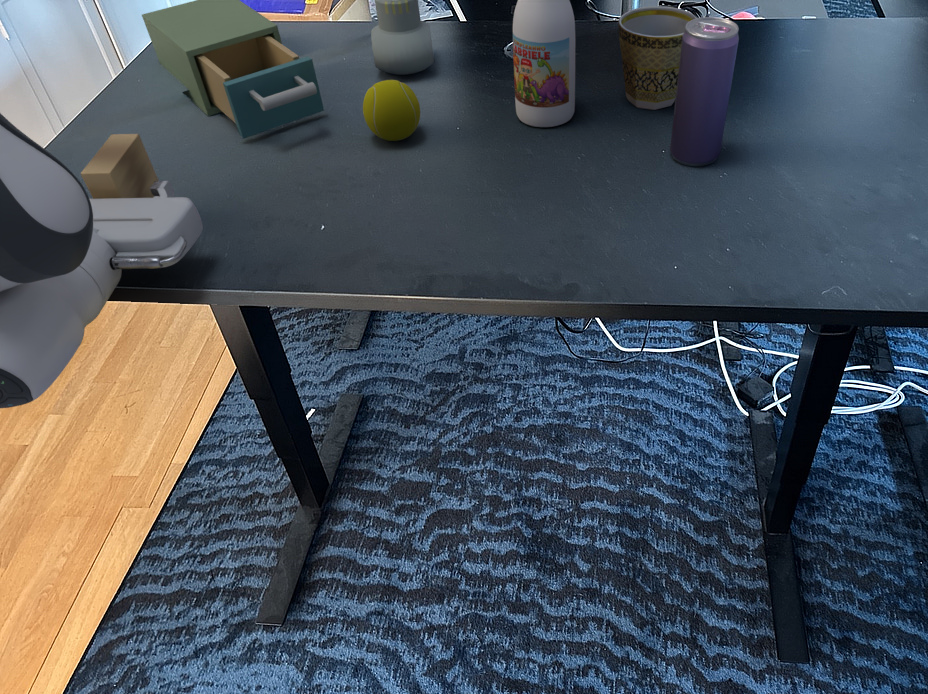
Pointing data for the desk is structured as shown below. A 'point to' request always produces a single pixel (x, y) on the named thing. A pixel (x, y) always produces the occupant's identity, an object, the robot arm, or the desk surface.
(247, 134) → the drawer
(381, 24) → the air freshener
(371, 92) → the tennis ball
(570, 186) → the desk surface
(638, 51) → the ceramic cup
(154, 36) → the cabinet
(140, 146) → the wooden block
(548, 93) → the milk bottle
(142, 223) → the robot arm
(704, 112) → the beverage can
